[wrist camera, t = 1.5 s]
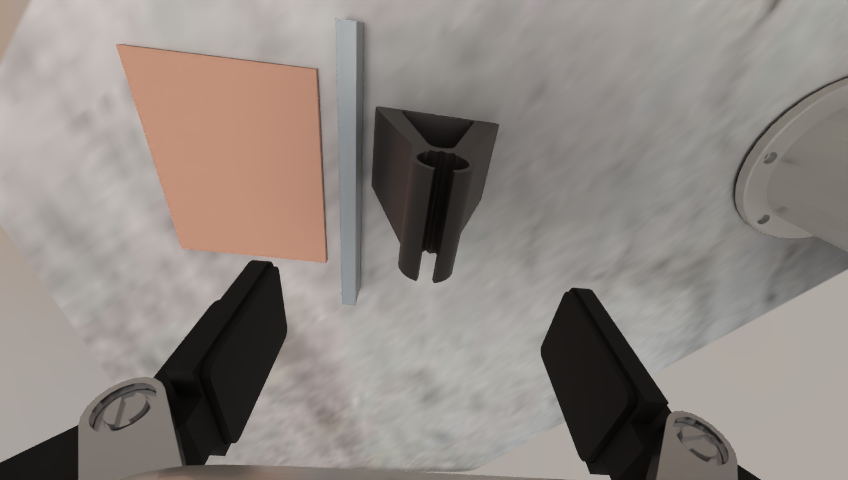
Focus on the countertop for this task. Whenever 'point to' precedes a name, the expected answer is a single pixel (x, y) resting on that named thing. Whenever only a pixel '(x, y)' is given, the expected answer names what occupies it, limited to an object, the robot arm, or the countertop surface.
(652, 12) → the countertop surface
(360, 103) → the acrylic wall
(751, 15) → the countertop surface
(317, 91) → the mat
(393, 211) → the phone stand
